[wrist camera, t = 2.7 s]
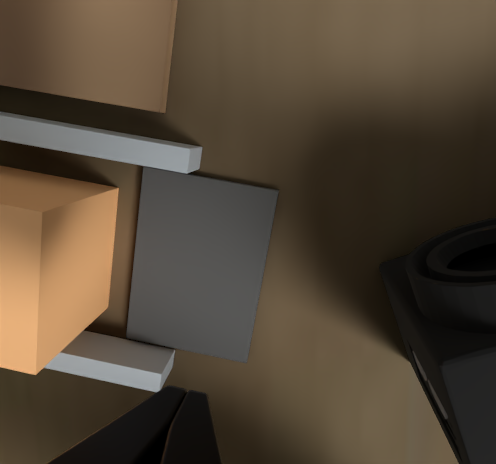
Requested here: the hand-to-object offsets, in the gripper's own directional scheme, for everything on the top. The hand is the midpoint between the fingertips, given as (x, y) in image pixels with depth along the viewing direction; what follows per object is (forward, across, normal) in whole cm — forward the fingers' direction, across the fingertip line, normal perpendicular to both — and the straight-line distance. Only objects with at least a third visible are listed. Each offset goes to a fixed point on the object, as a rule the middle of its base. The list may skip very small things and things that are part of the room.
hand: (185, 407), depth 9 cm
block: (+8, +8, 0) cm, 11 cm away
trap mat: (+8, +2, 0) cm, 8 cm away
